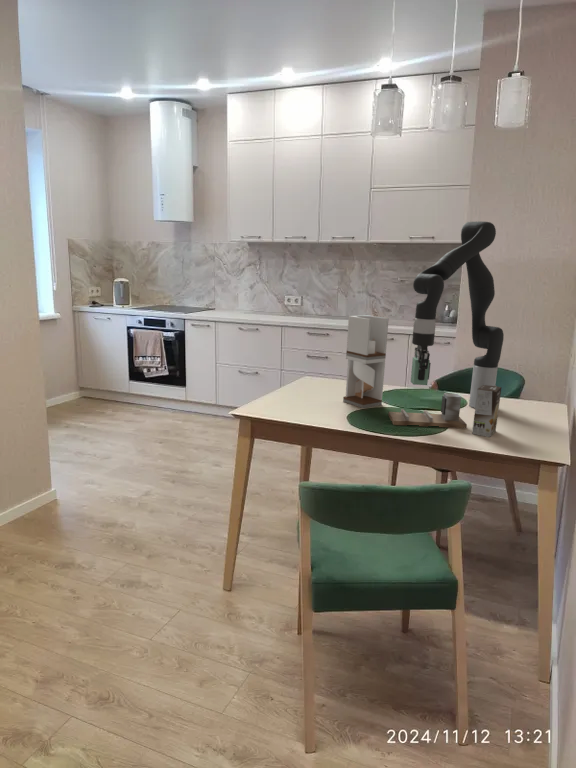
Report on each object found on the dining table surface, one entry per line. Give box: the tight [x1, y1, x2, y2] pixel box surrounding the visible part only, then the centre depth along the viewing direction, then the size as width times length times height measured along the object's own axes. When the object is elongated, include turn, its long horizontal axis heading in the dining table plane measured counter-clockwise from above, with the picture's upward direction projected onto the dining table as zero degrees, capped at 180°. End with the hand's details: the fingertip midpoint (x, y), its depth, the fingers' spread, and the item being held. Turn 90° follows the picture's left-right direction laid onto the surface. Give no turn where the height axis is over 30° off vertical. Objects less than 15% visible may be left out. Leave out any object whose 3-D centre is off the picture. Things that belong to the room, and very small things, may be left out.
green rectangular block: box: [410, 356, 431, 386], centre depth 200 cm, size 6×5×9 cm
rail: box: [387, 392, 468, 429], centre depth 203 cm, size 26×12×10 cm, turn 89°
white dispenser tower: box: [342, 315, 390, 409], centre depth 223 cm, size 11×11×35 cm
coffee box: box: [471, 385, 502, 438], centre depth 193 cm, size 9×6×16 cm
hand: (419, 378), depth 201 cm, fingers closed on green rectangular block, 5 cm apart
